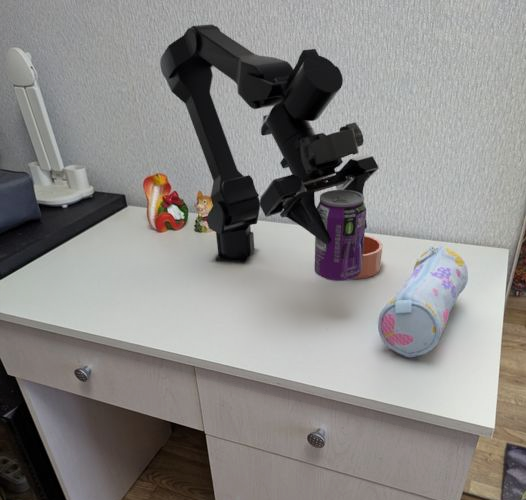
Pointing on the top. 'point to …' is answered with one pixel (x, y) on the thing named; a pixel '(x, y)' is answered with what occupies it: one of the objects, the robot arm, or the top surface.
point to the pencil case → (423, 303)
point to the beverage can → (341, 235)
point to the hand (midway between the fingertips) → (346, 236)
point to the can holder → (370, 257)
